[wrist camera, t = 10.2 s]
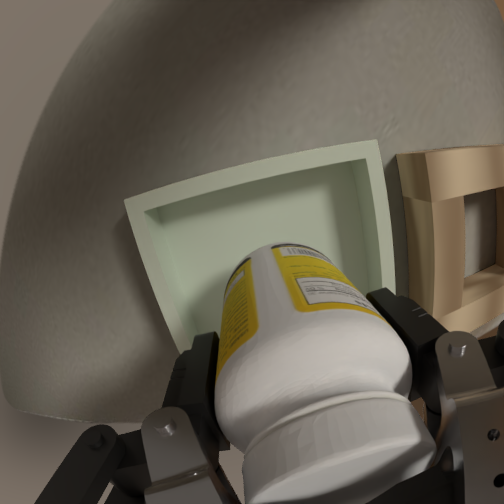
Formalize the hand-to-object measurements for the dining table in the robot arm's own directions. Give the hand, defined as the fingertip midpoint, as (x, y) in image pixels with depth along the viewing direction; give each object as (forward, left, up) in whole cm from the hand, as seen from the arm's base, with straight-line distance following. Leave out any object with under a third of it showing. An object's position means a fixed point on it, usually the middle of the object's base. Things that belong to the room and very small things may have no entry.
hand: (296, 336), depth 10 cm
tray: (0, 0, -6) cm, 6 cm away
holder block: (+8, +12, -6) cm, 16 cm away
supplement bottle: (0, 0, -4) cm, 4 cm away
